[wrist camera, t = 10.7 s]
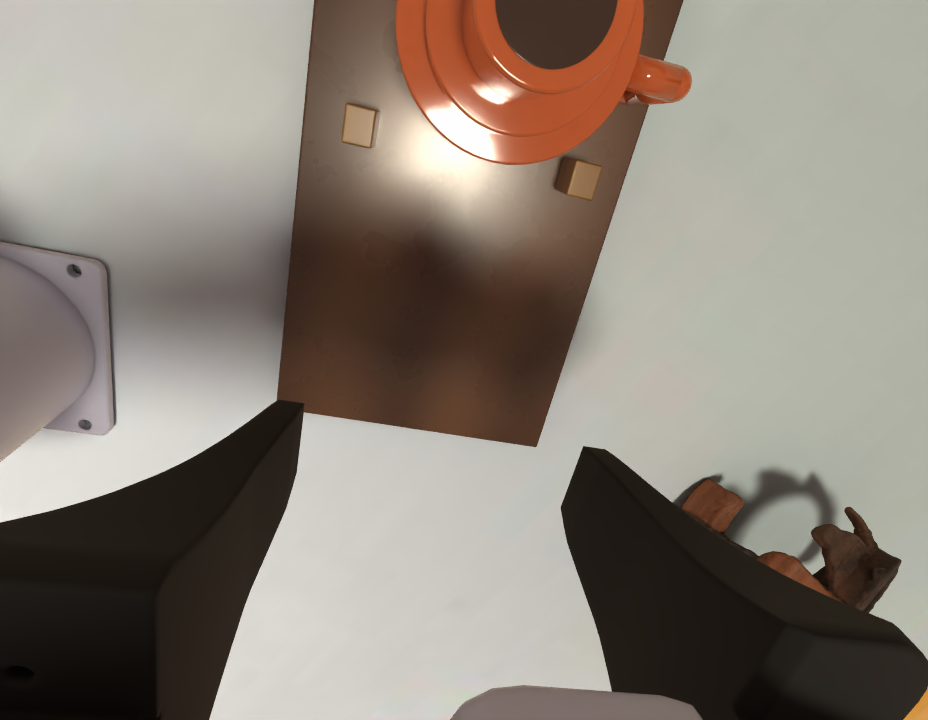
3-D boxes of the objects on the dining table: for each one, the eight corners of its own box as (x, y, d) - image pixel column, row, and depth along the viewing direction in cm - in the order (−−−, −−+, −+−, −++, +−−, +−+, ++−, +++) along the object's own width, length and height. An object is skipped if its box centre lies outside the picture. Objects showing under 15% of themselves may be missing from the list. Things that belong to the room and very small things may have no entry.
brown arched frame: (733, 425, 27) (921, 534, 21) (762, 471, 33) (911, 563, 28) (591, 609, 27) (738, 766, 21) (649, 617, 34) (772, 738, 28)
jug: (599, 183, 20) (738, 227, 11) (389, 132, 19) (362, 138, 10) (656, -1, 18) (888, -124, 9) (420, -73, 16) (422, -301, 8)
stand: (281, 397, 24) (264, 430, 21) (336, -171, 16) (320, -227, 13) (532, 436, 26) (545, 470, 23) (690, -54, 18) (735, -84, 15)
